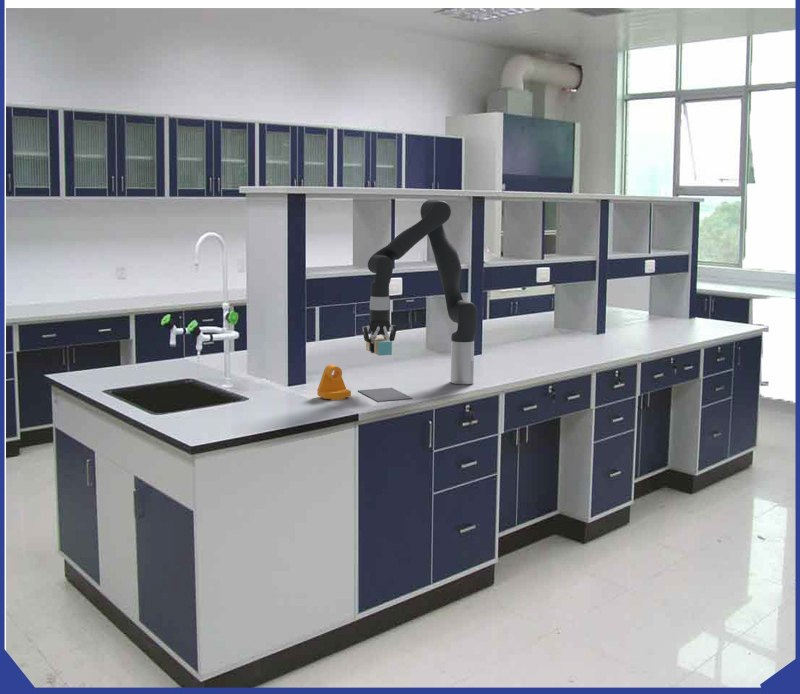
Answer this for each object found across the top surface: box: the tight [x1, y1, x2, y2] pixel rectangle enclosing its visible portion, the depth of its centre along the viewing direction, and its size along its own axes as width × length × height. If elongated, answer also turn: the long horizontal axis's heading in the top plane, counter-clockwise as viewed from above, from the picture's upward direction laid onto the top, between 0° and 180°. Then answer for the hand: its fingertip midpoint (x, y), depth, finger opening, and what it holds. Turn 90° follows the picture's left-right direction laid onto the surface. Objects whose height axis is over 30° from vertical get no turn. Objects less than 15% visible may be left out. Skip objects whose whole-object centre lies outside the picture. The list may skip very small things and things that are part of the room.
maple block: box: [365, 335, 393, 356], centre depth 331 cm, size 5×5×14 cm
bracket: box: [316, 364, 352, 401], centre depth 323 cm, size 11×7×12 cm, turn 117°
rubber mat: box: [357, 387, 413, 403], centre depth 328 cm, size 20×14×1 cm
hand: (379, 352), depth 330 cm, fingers closed on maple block, 5 cm apart
